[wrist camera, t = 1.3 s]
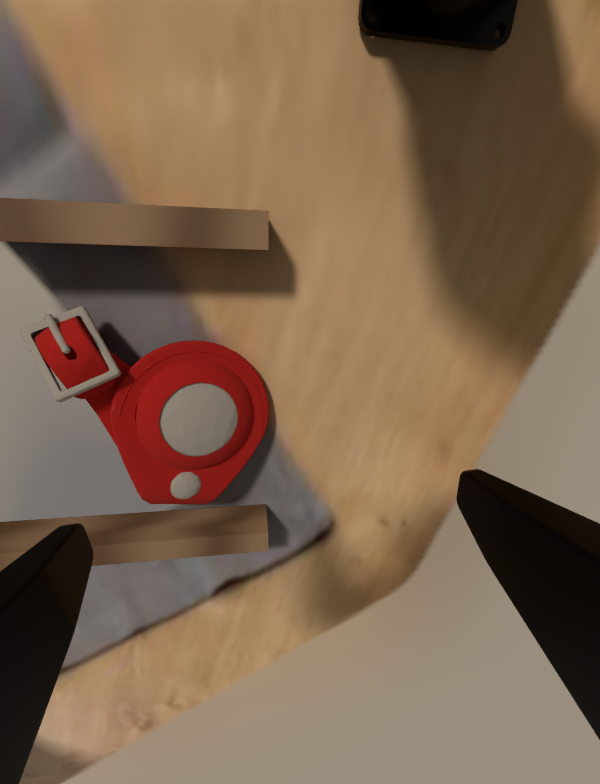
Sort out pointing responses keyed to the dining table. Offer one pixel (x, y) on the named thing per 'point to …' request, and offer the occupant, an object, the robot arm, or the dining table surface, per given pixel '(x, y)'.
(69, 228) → the walnut channel
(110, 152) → the dining table surface
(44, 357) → the tracker holder
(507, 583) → the robot arm
